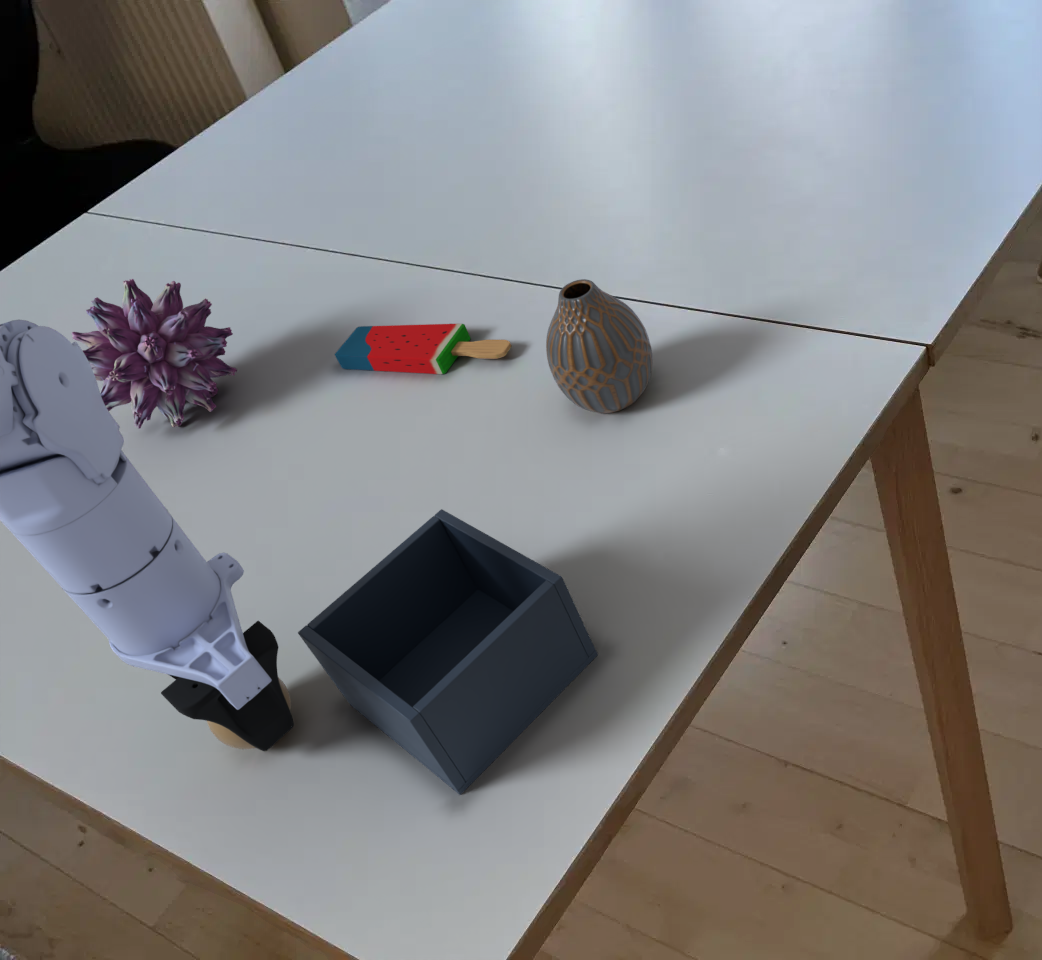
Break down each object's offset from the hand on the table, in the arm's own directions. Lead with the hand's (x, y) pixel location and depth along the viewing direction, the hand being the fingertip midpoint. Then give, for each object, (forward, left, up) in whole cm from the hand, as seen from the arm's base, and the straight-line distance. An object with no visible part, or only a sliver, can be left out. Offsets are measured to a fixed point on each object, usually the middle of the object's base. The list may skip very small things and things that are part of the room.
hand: (255, 716), depth 61 cm
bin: (+9, -8, -1) cm, 12 cm away
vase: (+31, +2, -2) cm, 31 cm away
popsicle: (+28, +20, -2) cm, 34 cm away
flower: (+14, +35, -2) cm, 38 cm away
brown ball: (0, 0, -1) cm, 1 cm away
